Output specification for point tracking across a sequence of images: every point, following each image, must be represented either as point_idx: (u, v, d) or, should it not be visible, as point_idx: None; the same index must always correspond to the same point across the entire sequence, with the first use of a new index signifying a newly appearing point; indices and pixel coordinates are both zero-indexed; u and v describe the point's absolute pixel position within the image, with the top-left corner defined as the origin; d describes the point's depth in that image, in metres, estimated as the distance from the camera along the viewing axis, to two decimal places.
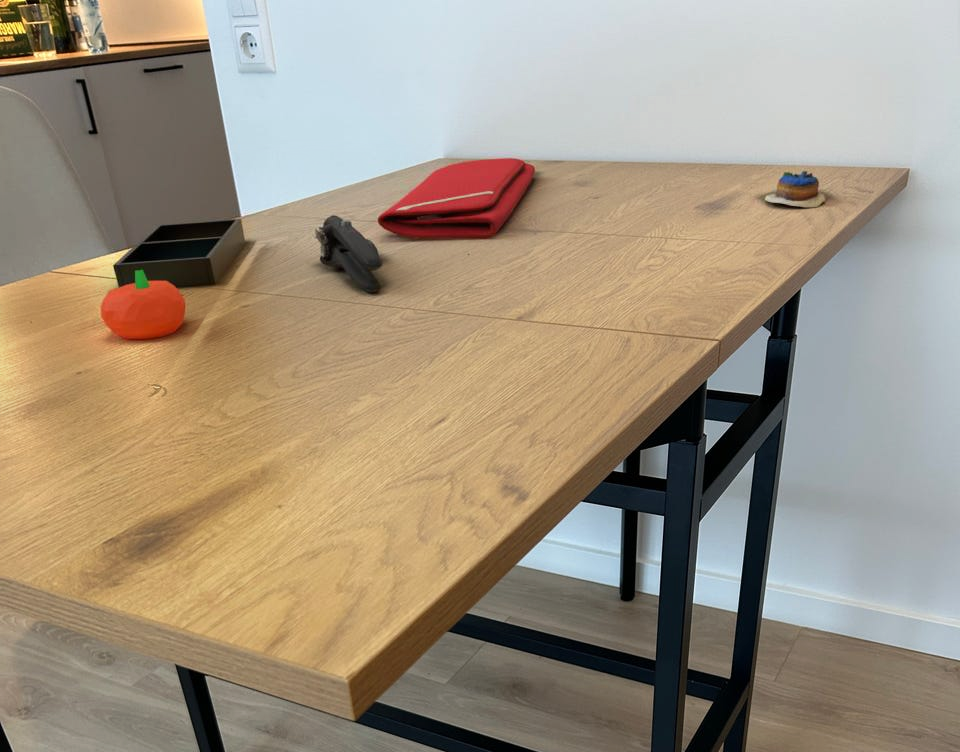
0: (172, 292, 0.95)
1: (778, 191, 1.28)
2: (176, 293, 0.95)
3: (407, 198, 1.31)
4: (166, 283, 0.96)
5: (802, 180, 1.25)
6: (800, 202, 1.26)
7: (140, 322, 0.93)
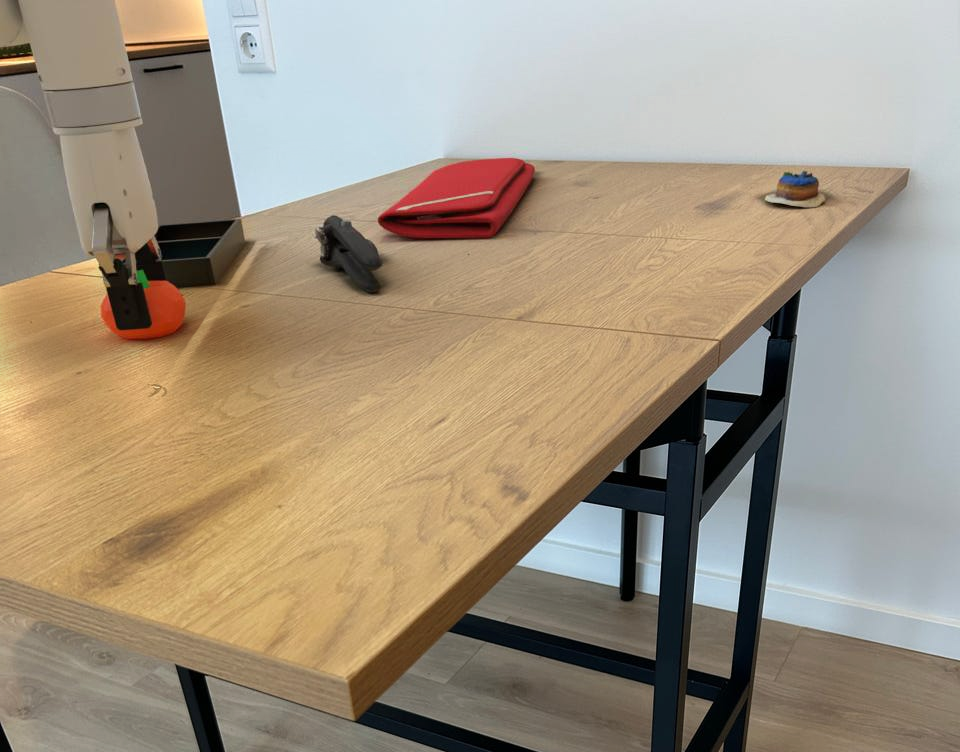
0: (172, 292, 0.95)
1: (778, 191, 1.28)
2: (176, 293, 0.95)
3: (407, 198, 1.31)
4: (166, 283, 0.96)
5: (802, 180, 1.25)
6: (800, 202, 1.26)
7: None
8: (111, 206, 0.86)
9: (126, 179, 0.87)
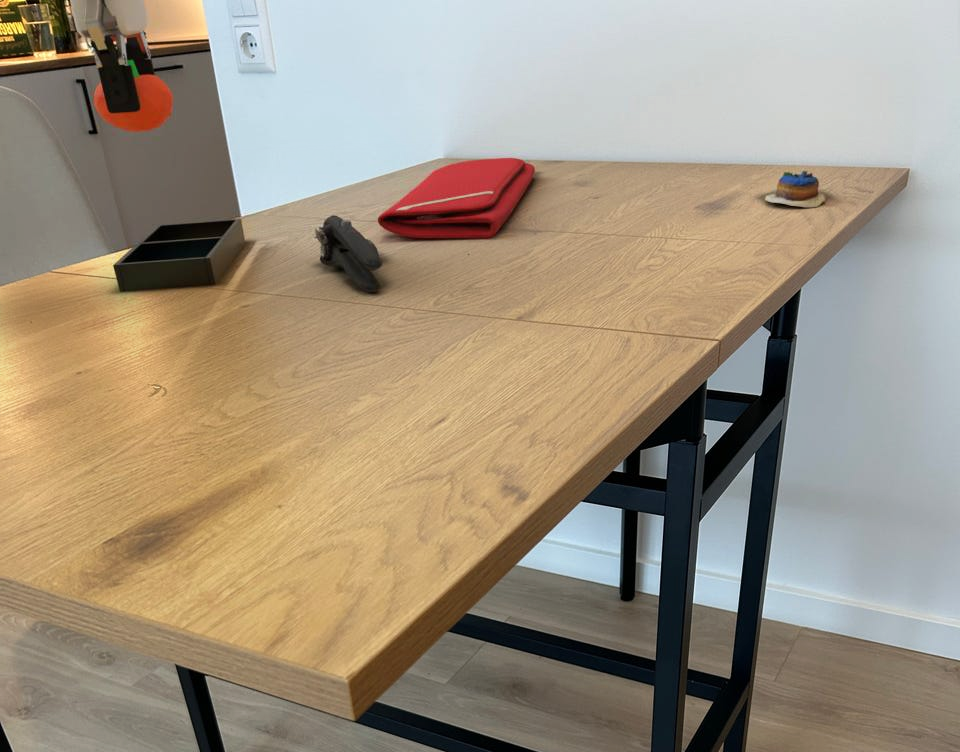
0: (160, 83, 1.03)
1: (778, 191, 1.28)
2: (164, 84, 1.03)
3: (407, 198, 1.31)
4: (155, 75, 1.03)
5: (802, 180, 1.25)
6: (800, 202, 1.26)
7: None
8: None
9: None
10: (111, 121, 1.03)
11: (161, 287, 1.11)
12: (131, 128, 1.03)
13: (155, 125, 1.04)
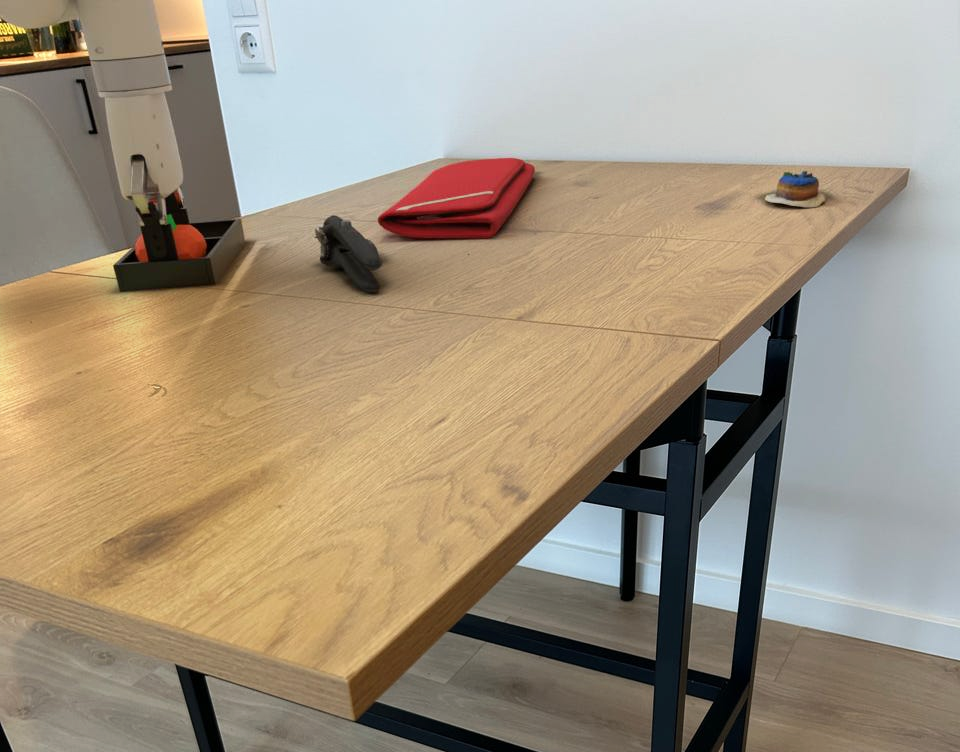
0: (196, 234, 1.13)
1: (778, 191, 1.28)
2: (199, 235, 1.13)
3: (407, 198, 1.31)
4: (190, 226, 1.13)
5: (802, 180, 1.25)
6: (800, 202, 1.26)
7: None
8: (146, 157, 1.04)
9: (158, 135, 1.04)
10: None
11: (161, 287, 1.11)
12: None
13: None
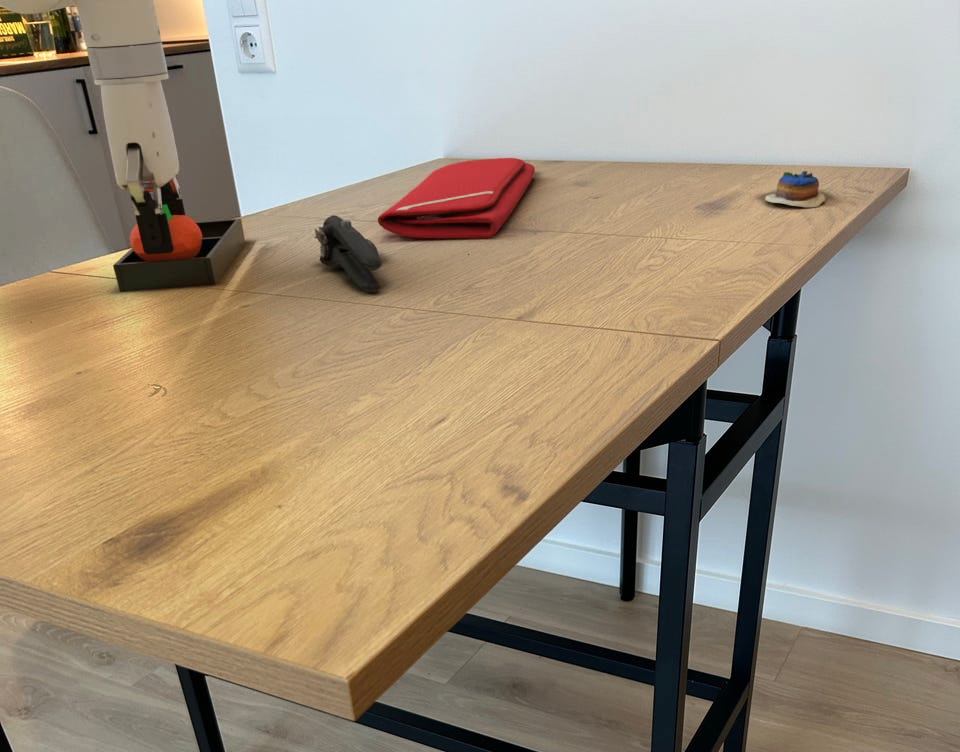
0: (191, 224, 1.12)
1: (778, 191, 1.28)
2: (194, 225, 1.12)
3: (407, 198, 1.31)
4: (186, 217, 1.13)
5: (802, 180, 1.25)
6: (800, 202, 1.26)
7: None
8: (142, 146, 1.03)
9: (154, 123, 1.04)
10: (146, 259, 1.12)
11: (161, 287, 1.11)
12: None
13: None
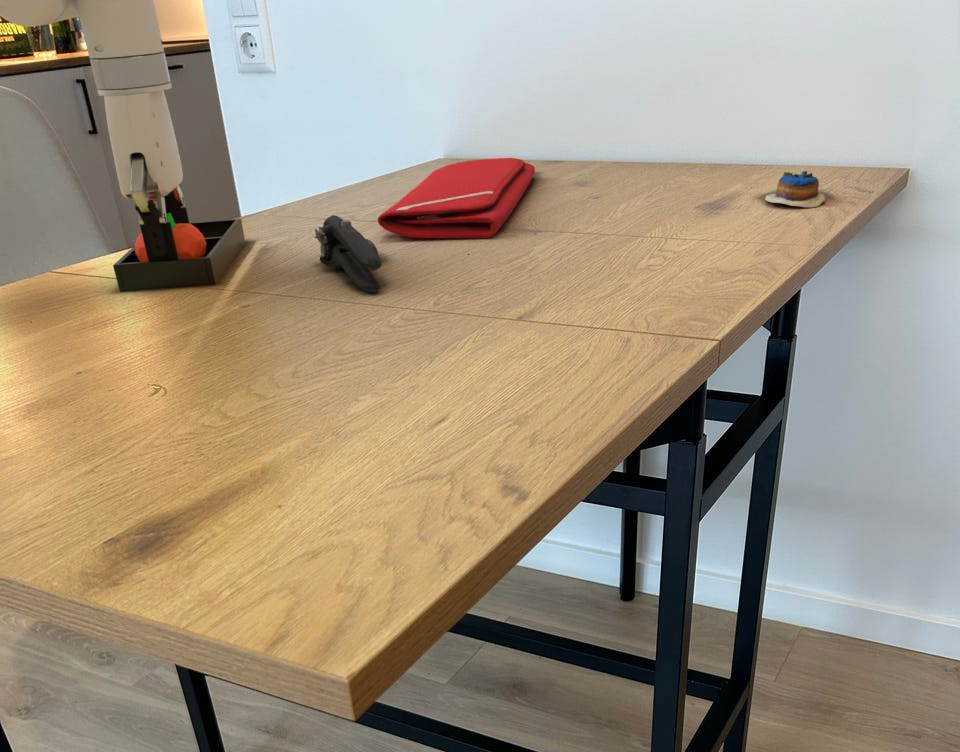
0: (195, 232, 1.13)
1: (778, 191, 1.28)
2: (198, 233, 1.13)
3: (407, 198, 1.31)
4: (190, 225, 1.13)
5: (802, 180, 1.25)
6: (800, 202, 1.26)
7: None
8: (146, 156, 1.04)
9: (158, 133, 1.04)
10: None
11: (161, 287, 1.11)
12: None
13: None
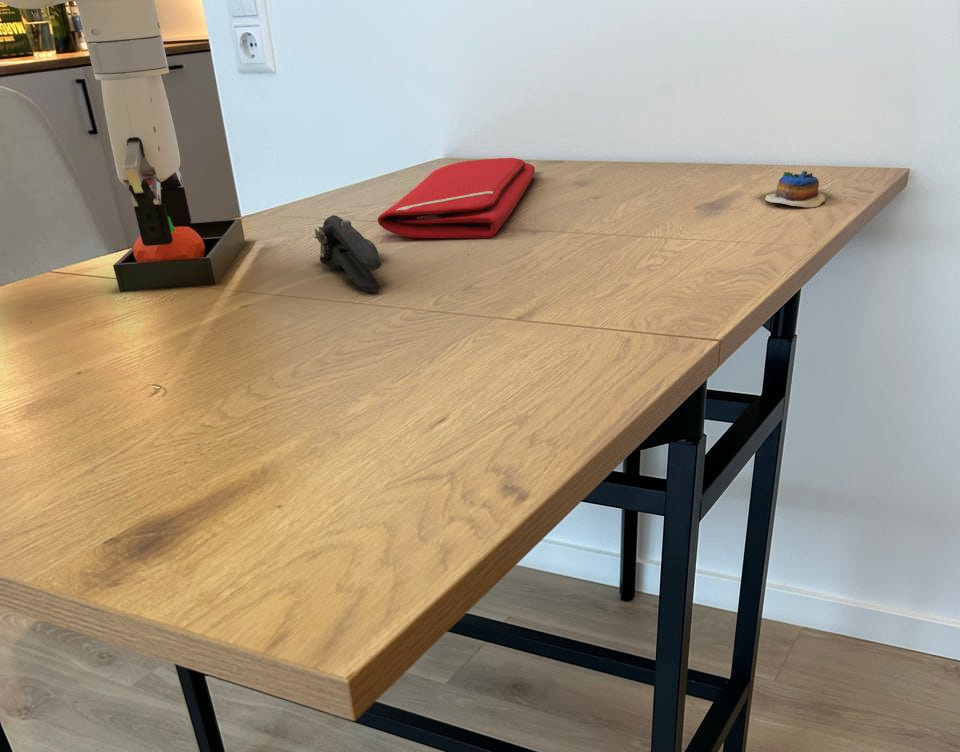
0: (194, 235, 1.13)
1: (778, 191, 1.28)
2: (197, 236, 1.13)
3: (407, 198, 1.31)
4: (188, 228, 1.13)
5: (802, 180, 1.25)
6: (800, 202, 1.26)
7: None
8: (143, 140, 1.03)
9: (155, 118, 1.03)
10: None
11: (161, 287, 1.11)
12: None
13: None
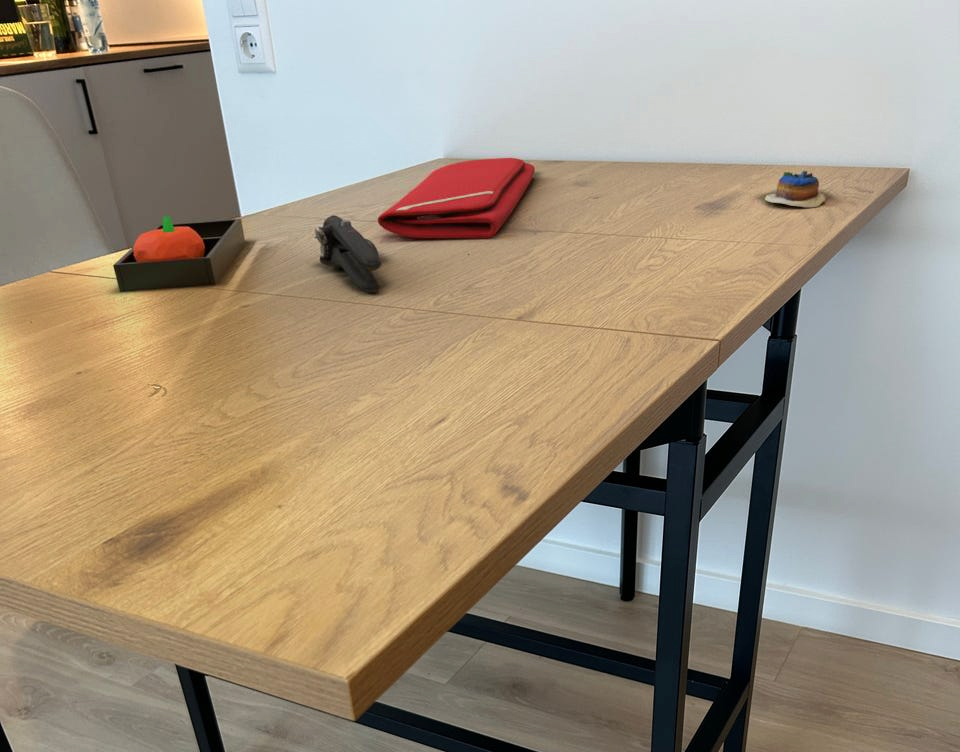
0: (194, 235, 1.13)
1: (778, 191, 1.28)
2: (197, 236, 1.13)
3: (407, 198, 1.31)
4: (188, 228, 1.13)
5: (802, 180, 1.25)
6: (800, 202, 1.26)
7: None
8: None
9: None
10: None
11: (161, 287, 1.11)
12: None
13: None
